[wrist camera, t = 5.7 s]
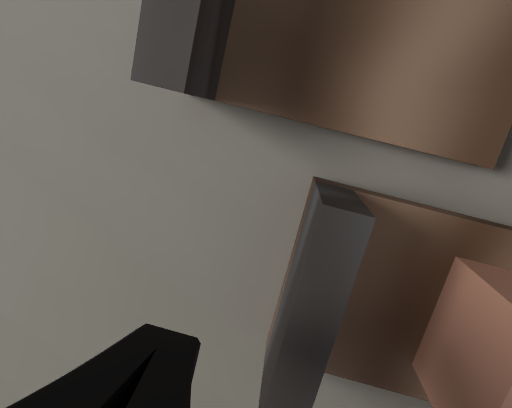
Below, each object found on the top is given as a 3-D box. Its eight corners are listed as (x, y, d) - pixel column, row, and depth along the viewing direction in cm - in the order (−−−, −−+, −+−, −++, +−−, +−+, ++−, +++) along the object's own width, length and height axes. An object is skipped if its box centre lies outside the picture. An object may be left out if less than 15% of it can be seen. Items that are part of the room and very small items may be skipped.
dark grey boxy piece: (571, -65, 12) (752, -184, 7) (480, 166, 14) (576, 190, 9) (226, -141, 13) (185, -298, 8) (184, 92, 15) (130, 80, 10)
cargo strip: (609, 251, 14) (766, 318, 10) (525, 413, 16) (621, 536, 12) (313, 176, 15) (323, 204, 10) (266, 342, 17) (255, 432, 12)
